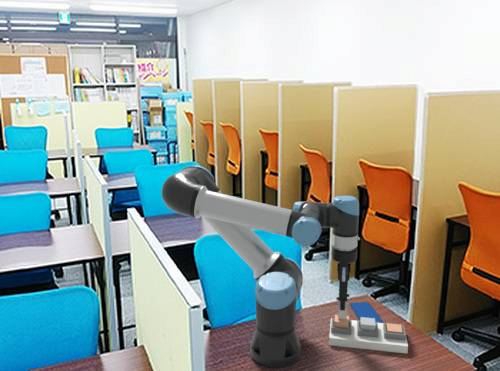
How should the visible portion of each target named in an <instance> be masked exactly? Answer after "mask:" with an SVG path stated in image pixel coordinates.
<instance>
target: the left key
mask: <svg viewBox="0 0 500 371" xmlns="http://www.w3.org/2000/svg"><path fill="white" fill-rule="evenodd" d="M334 318H335V320H334V327H339V328H349V319H350V316H349V315H347V319H340V318H338V314H334Z"/></svg>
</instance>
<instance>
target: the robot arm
mask: <svg viewBox="0 0 500 371" xmlns="http://www.w3.org/2000/svg"><path fill="white" fill-rule="evenodd" d="M161 199H162V201H163V203H164V204H165V206H166V207H167V208H168V209H169V210H171V211H173V212H174V213H177V214H179V215H182V216H186V217H190V218H194V219H200V218H203V220H205V222H206V223H207V224H209V226H210V227H212V229H213V230H214V231H215V232H216V233H217V234H218V235H219V236H220V237H221V238H222V239H223V240H224V241H225V242H226V243H227V245H229V246H230V248H231V249H232V250H234V252H235V253H236V254H237V255H238V256H239V257H240V258H241V259H242V260H243V261H244V262H245V263H246V264H247V265H248V266H249V267H250V269H252V271H253V279H254V280H255V281H256V283H255V290H254V295H255V329H254V333H253V336H252V339H251V342H250V346H249V347H250V350H249V353H250V356H251V358H252V359H253V361H255V362H256V363H257V364H259V365H262V366H265V367H269V368H285V367H288V366H291V365H293V364H296V362H297V361H299V359H300V358H301V355H302V354H301V353H302V347H301V341H300V339H299V336H298V333H297V330H296V319H297V318H296V316H297V313H296V312H297V311H296V309H297V304H298V303H297V302H298V299H299V296H300V292H301V289H302V287H303V283H304V277H303V276H304V275H303V270H302V268H301V266H300V265H299V264H298V262H296V261H295V260H293V259H292V258H289V257H285V256H284V255H283V254H282V253H281V252H280V251H273V250H272V249H271V248H270V247H269V246H268V245H267V244H266V243H265V242H264V241H263V240H262V239H261V237H260V236H258V234H257V233H255V232H254V230H253V229H255V230H259V231H263V232H267V233H271V234H276V235H278V236H283V237H288V238H292V239H293V241H294V242H295V243H297V244H298V245H300V246H302V247H310V246H313V245H314V244H315V243H316V242H317V241H318V239H319V237H320V236H321V234H322V230H323V228H324V229H326V228H327V229H331V228H332V233H331V234H332V236H331V239H332V240H331V258H332V260H333V261H335V262H337V270H336V271H337V280H339V282H338V283H339V285H338V287H339V288H338V297H337V296H336V301H338V302H337V303H338V304H337V315H338V318H340V319H347V316H348V314H347V313H348V298H349V297H350V294H348V287H349V286H348V284H349V281H350V274H351V271H352V270H351V269H352V268H351V263H354V262H356V261H357V259H358V248H357V247H358V241H360V240H361V237H359V223H360V222H359V221H360V220H359V218H360V202H359V199H358V198H357V197H355V196H353V195H336V196H334V198H333V201H332V202H319V201H317V202H316V201H306V200H305V201H296V202H294V203H293V205H292V206H293V208H292V209H289V208H284V207H281V206H276V205H271V204H268V203H263V202H259V201H255V200H251V199H246V198H242V197H237V196H233V195H229V194H225V193H222V190H221V189H220V188H219V187H218V186H217V185H216V184H215V178H214V175H213V174H212V173H211V171H210V170H208V168H206V167H204V166H202V165H191V166H186V167H183V168H182V169H180V170H179V171H178V172H176V173H174V174H171V175H169V177H167V178H166V180H164V182H163V184H162V188H161Z"/></svg>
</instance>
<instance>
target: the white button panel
mask: <svg viewBox="0 0 500 371" xmlns="http://www.w3.org/2000/svg"><path fill="white" fill-rule="evenodd" d="M334 320H335V317H331V318H330V324H329V327H330V328H329V337H328V345H329V346H333V347H335V346H336V347H342V348H351V349H353V348H354V349H361V350H362V349H363V350H372V351H380V352H388V353H397V354H398V353H400V354H408V350H409V344H408V340H407V333H406V328H405V325H404V324H401V323H398V324H399V325H401V326H402V332H403V334H399V333H389V332H386V324H387V323H388V324H393V323H391V322H383V323H377V322H375V325H376V327H375V331H369V330H360V320H359V319H357V320H353V319H350V318H349V328H339V327H334Z"/></svg>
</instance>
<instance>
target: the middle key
mask: <svg viewBox="0 0 500 371" xmlns="http://www.w3.org/2000/svg"><path fill="white" fill-rule="evenodd" d="M375 327H376V325H375V318H365V317H361V318H360V330H369V331H375Z"/></svg>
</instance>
